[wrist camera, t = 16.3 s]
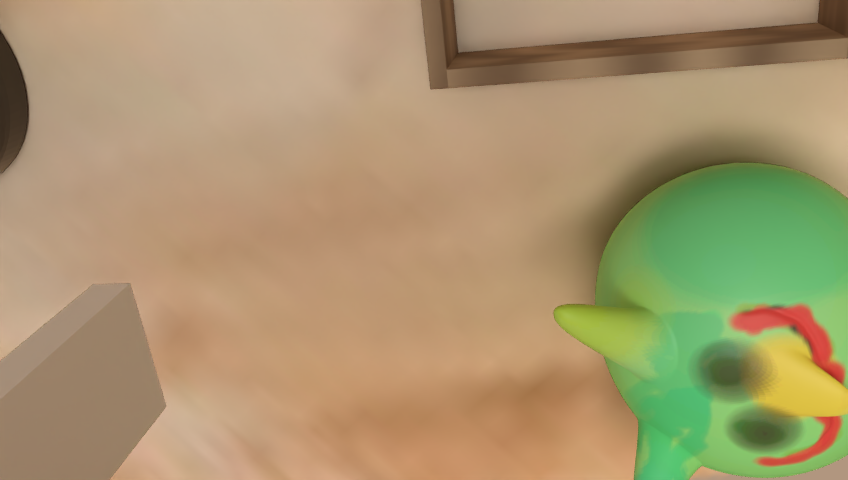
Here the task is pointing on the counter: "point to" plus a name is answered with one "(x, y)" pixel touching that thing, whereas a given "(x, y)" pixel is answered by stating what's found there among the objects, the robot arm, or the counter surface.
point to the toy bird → (727, 322)
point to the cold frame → (628, 51)
